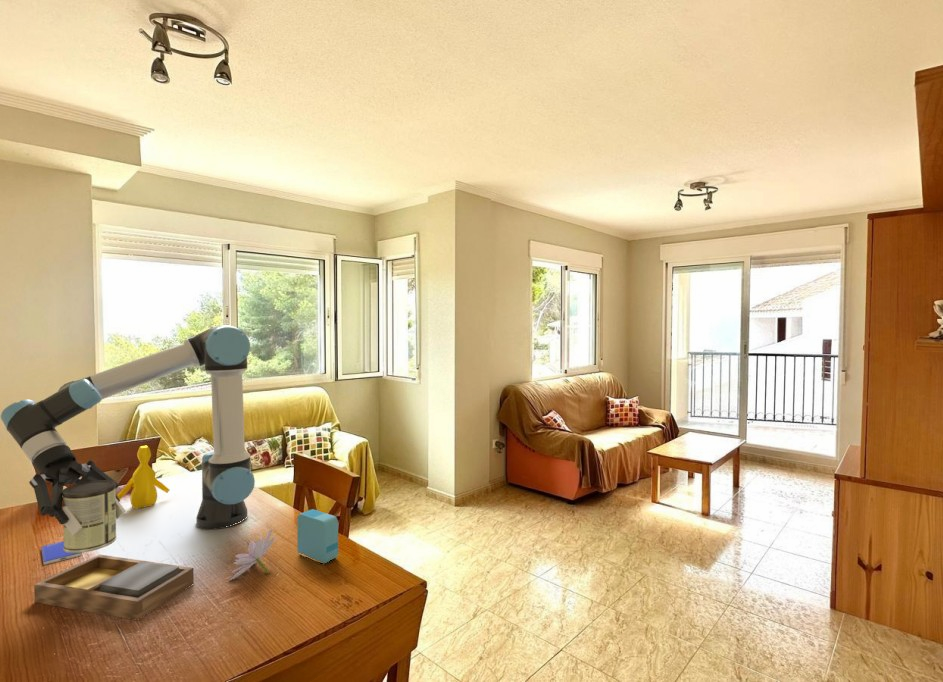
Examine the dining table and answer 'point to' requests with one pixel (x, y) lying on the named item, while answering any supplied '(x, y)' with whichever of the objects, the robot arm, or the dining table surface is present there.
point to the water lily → (253, 555)
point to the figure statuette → (143, 482)
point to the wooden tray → (114, 586)
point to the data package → (317, 535)
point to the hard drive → (56, 553)
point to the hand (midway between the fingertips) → (100, 522)
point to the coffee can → (91, 515)
